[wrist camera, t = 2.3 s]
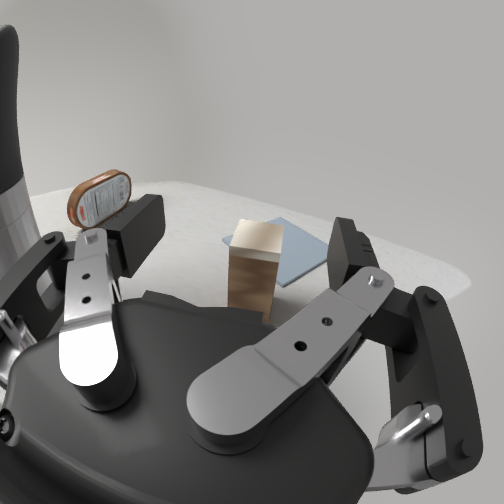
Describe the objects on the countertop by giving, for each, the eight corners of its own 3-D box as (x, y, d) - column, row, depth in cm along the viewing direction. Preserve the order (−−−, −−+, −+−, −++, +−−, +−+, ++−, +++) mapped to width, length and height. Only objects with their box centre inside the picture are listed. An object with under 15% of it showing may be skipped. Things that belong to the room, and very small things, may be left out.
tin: (126, 200, 52) (121, 163, 47) (136, 203, 51) (132, 164, 47) (72, 235, 41) (61, 192, 36) (81, 239, 40) (70, 194, 35)
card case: (227, 320, 30) (229, 245, 24) (236, 290, 34) (240, 219, 28) (267, 327, 29) (280, 253, 23) (272, 296, 33) (284, 225, 28)
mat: (282, 287, 35) (282, 284, 35) (222, 240, 42) (222, 238, 42) (337, 253, 42) (338, 251, 42) (280, 218, 50) (280, 216, 50)
